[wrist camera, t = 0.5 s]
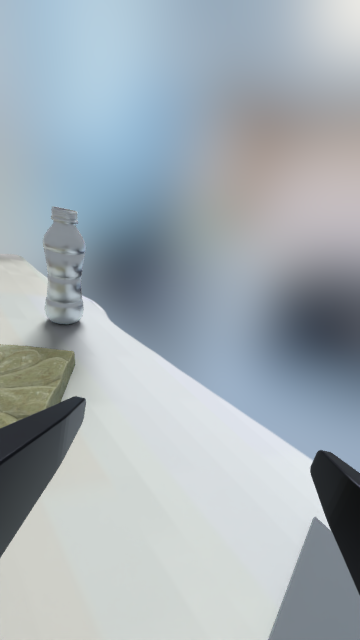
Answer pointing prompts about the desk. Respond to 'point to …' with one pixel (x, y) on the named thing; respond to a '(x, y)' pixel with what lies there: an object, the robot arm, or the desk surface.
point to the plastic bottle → (64, 267)
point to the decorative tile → (31, 380)
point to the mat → (319, 594)
